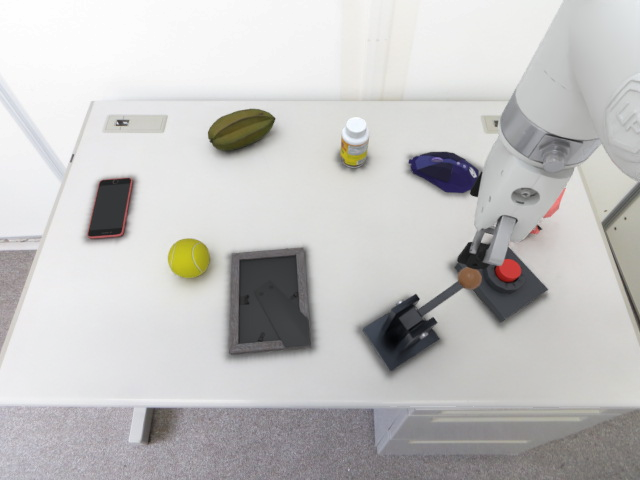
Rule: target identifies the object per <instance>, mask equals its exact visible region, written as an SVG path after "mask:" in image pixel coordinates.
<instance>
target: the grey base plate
mask: <svg viewBox="0 0 640 480" xmlns="http://www.w3.org/2000/svg"><path fill="white" fill-rule="evenodd" d="M487 244H488V245H490V244H491V242H489V243H487ZM505 259H511V260H514V261H515V262H517V263H518V264H519V266H520V268H521V274H520V276H519V277H518V278H516V279H515V280H514V281H512V282H504V281H502V280H500V279H499V278H498V277H497V275H496V273H495V269H496V266H495V265H491V264H490V265H489V266H488V267H487V268H486V269H479V270H478V271H479V272H480V273H481V276H482V282H481V284H480V285H479V286H478V287H477V288H475V289H472V290H473V292H474V293H475V294H476V295H477V297H478V298H479V299H480V300H481V302H483V304H484V306H486V307H487V309H488V310H489V311H490V312H491V314H492V315H493V316H494V317H495V319H497V321H498V322H499V323H501V322H503V321H505V320H506V319H508V318H509V317H511V316H512V315H513V314H515V313H516V312H518V311H519V310H521V309H522V308H524V307H526V306H527V305H528V304H530V303H531V302H533V301H535V300H536V299H537V298H538V297H540V296H541V295H544V294H545V293H546V292H548V291H549V288H548V287H547V286H546V285H545V284H544V283H543V282H542V281H541V279H540V278H539V277H537V275H536V274H535V273H534V272H533V271H532V270H531V269H530V268H529V267H528V266H527V265H526V264H525V262H524V261H522V259H521V258H520V257H519V255H517V254H516V253H515V252H514V251H513V250H512V248H510V247H509V246H508V249H507V252H506V255H505ZM505 259H504V260H505ZM466 267H467V266H466V265H465V264H462V263H459V262H457V263H456V264H455V266H454V269H455V270H456V271H457V273H459V272H460V271H461V270H462V269H463V268H466Z"/></svg>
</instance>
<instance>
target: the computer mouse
mask: <svg viewBox="0 0 640 480" xmlns="http://www.w3.org/2000/svg"><path fill="white" fill-rule="evenodd" d="M408 164H409V165H410V171H411V172H412V174H413V175H415V176H418V177H419V178H422V179H424V180H425V181H426V182H429V183H430V184H432V185H434V186H435V187H437V188H438V189H440V190H442V191H443V192H445V193H455V194H464V193H466V192H468V191H469V192H470V191H471V188H472V187H473V185H474V183H475V181H476V180H477V178H478V176H479V174H480V173H479V172H480V170H479V169H478V168H477V167H475V166H474V165H473V164H472V163H470V162H469V161H467V160H466V159H465V158H464V157H462V156H460V155H458V154H456V153H455V152H449V151H429V152H425V153H421V154H419V155H415V156H413V157H412V158H410V159H408Z"/></svg>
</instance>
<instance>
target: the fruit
mask: <svg viewBox="0 0 640 480" xmlns="http://www.w3.org/2000/svg"><path fill="white" fill-rule="evenodd" d="M275 122H276V117H275V116H274V115H273V114H272V113H271V112H268V111H266V110H264V109H260V108H247V109H240V110H239V109H238V110H236V111H233V112H231V113H227V114H225V115H222V116H220V117H219V118H217V119H216V120H215V121H214V122H213V123H212V124H211V126H209V129H208V130H207V139H208V140H209V142H210V144H212V147H214V148H215V149H216V150H219V151H224V152H225V151H233V150H238V149H242V148H243V147H247V146H250V145H252V144H254V143H256V142H258V141H259V140H261V139H262V138H264V137H265V136H266V135H267V134H268V133H269V132H270V131H271V129H272V128H273V126H274V124H275Z"/></svg>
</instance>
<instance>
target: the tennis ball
mask: <svg viewBox="0 0 640 480" xmlns="http://www.w3.org/2000/svg"><path fill="white" fill-rule="evenodd" d="M209 251H210V250H209V249H208V247H207V244H205V243H204V242H202V241H201V240H199V239H196V238H192V237H191V238H190V237H189V238H182V239H179V240H177V241H176V242H174V243H173V244H172V245H171V247H170V249H169V251H168V255H167V264H168V267H169V269H170V271H171V272H172V273H173V274H175V275H176V276H178V277H180V278H185V279H193V278H197V277H200V276H201V275H203V274H204V273H205V272H206V270H207V269H208V267H209V264H210V259H211V256H210V252H209Z"/></svg>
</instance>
